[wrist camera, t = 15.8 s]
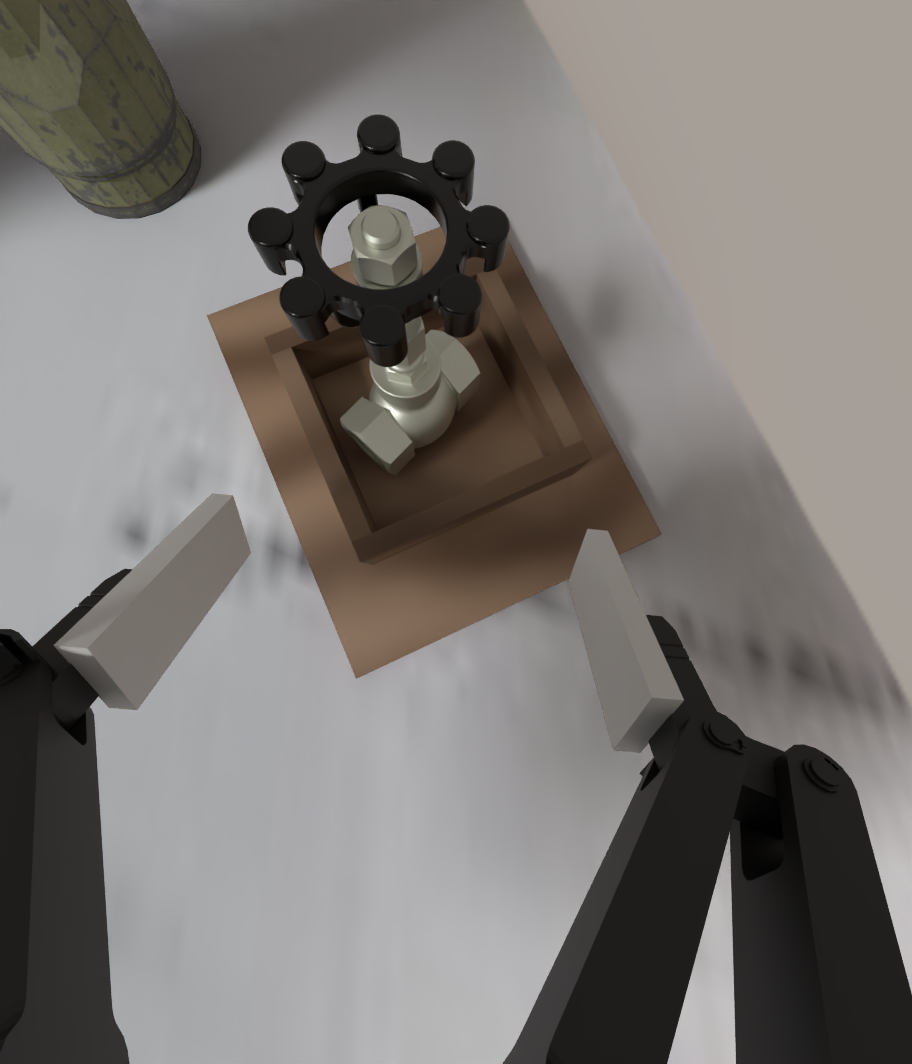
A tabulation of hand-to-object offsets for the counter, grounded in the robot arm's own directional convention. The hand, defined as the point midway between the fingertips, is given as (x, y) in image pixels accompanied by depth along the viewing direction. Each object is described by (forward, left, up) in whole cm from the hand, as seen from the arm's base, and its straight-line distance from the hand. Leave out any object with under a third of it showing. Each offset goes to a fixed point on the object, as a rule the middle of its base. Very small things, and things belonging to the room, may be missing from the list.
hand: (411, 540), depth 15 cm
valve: (-7, +3, -6) cm, 10 cm away
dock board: (-6, +3, -7) cm, 10 cm away
